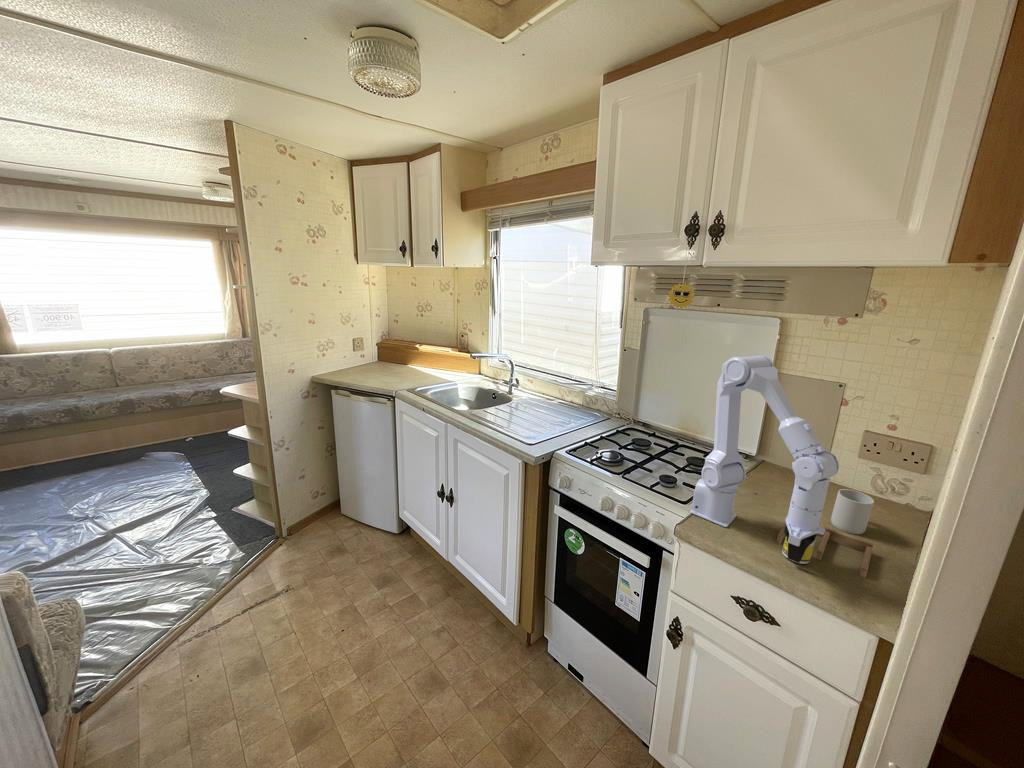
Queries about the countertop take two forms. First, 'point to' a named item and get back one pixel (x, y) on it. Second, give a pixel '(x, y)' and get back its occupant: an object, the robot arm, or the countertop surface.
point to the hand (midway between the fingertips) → (794, 559)
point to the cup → (852, 511)
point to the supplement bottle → (806, 555)
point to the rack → (841, 539)
